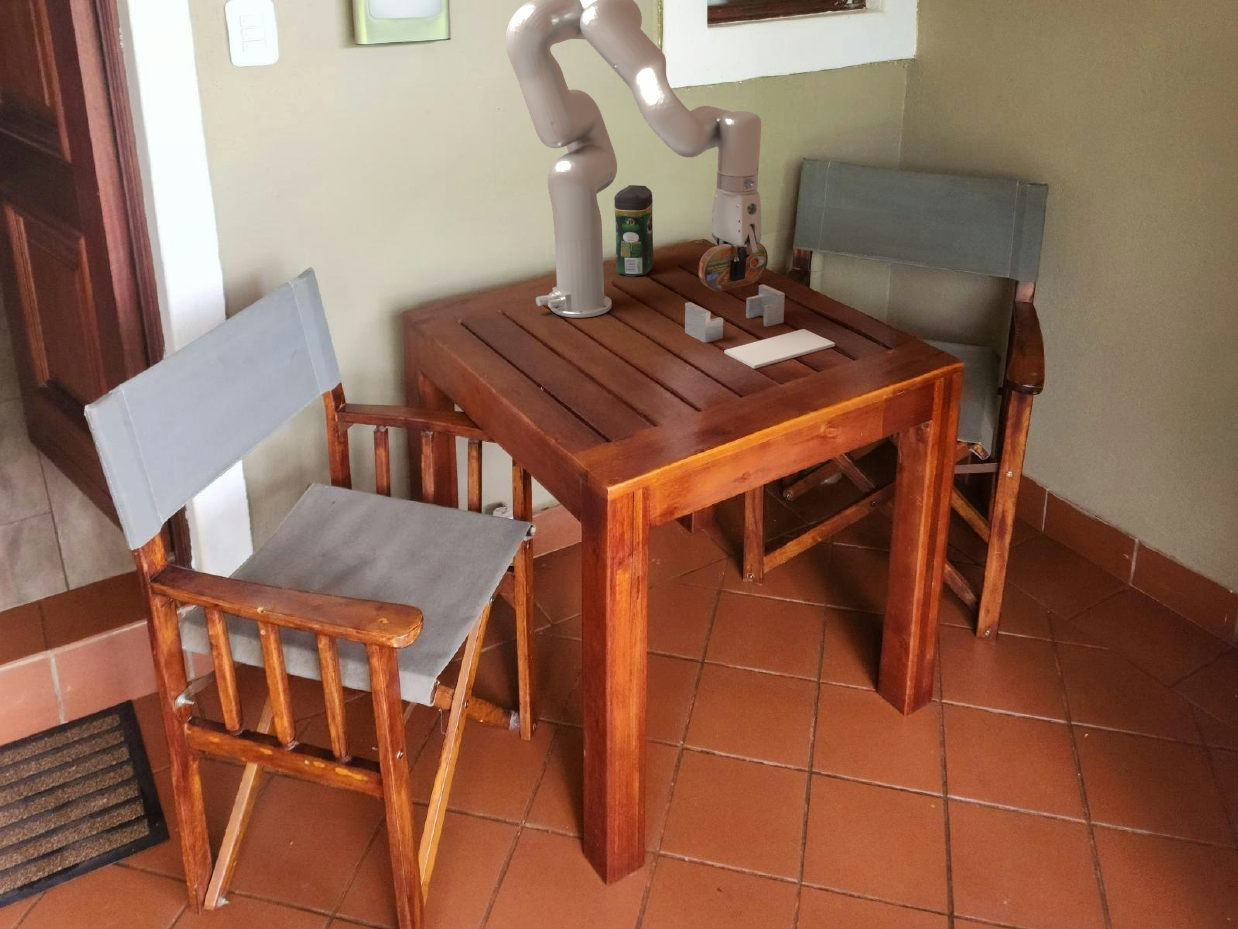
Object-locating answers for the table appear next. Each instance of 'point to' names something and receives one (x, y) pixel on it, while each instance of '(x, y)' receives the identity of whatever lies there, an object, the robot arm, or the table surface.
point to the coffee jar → (634, 230)
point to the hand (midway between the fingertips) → (732, 276)
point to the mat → (779, 348)
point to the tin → (718, 267)
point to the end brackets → (760, 305)
